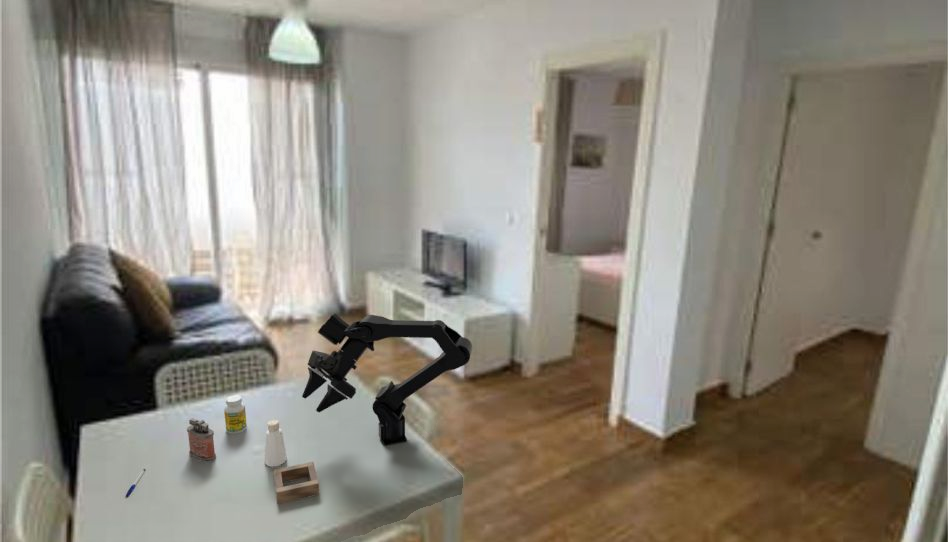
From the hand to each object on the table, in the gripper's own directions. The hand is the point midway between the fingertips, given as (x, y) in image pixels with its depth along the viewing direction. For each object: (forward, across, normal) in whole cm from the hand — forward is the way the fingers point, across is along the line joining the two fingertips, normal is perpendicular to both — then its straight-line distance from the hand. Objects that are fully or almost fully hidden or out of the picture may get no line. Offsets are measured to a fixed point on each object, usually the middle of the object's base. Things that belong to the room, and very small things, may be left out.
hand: (310, 404), depth 137 cm
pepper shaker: (+16, -1, +3) cm, 17 cm away
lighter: (+26, -14, -7) cm, 31 cm away
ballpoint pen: (+37, -11, -18) cm, 43 cm away
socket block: (+16, +13, +3) cm, 21 cm away
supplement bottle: (+19, -23, 0) cm, 29 cm away
